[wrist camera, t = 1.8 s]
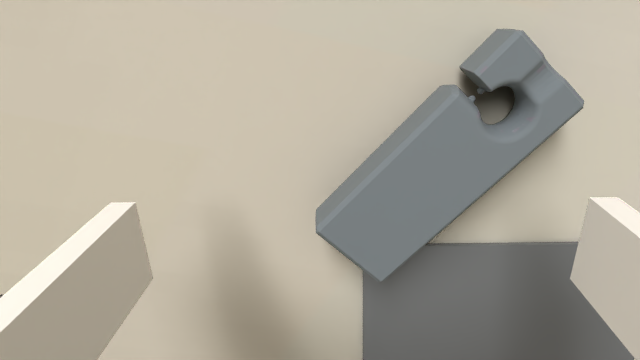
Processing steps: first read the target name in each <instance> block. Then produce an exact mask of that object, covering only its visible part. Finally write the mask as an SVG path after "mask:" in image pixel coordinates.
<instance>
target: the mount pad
mask: <svg viewBox="0 0 640 360" xmlns="http://www.w3.org/2000/svg"><path fill="white" fill-rule="evenodd" d="M578 243H579V242H534V243H456V244H426V245H425V246H424V247H423V248H421V249H420V250H419V251H418V252H417V253H416V254H414V255H413V256H412V257H411V258H410V259H409V260H408V261H406V262H405V263H404V264H403V265H402V266H401V267H400V268H398V269H397V270H396V271H395V272H394V273H393V274H391V275H390V276H389V277H388V278H387V279H386V280H385V281H382V282H377V281H376V280H375V279H374V278H372V277H371V276H370V275H369V274H367V273H366V272H365V271H363V360H634V357H633V356H632V354H631V353H630V352H629V351H628V349H627V348H626V347H625V346H624V345H623V343H622V342H621V341H620V340H619V338H618V337H617V336H616V335H615V333H614V332H613V331H612V330H611V329H610V327H609V326H608V325H607V324H606V322H605V321H604V320H603V319H602V318H601V316H600V315H599V314H598V313H597V311H596V310H595V309H594V308H593V306H592V305H591V304H590V303H589V302H588V300H587V299H586V298H585V297H584V295H583V294H582V293H581V292H580V290H579V289H578V288H577V287H576V286H575V284H574V283H573V282H572V281H571V279H570V276H571V272H572V268H573V264H574V260H575V255H576V251H577V247H578Z"/></svg>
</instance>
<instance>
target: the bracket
mask: <svg viewBox="0 0 640 360" xmlns="http://www.w3.org/2000/svg"><path fill="white" fill-rule="evenodd" d="M460 69H461V70H462V71H463V72H464V73H465V74H466V75H467V76H468V78H469V79H470V80H471V81H472V82H474V83H475V84H476V85H477V86H479V88H478V89H477V92H478V93H479V94H482V93H484V92H485V91H487V92H492V91H493V90H495V89H496V88H499V87H501V86H509V87H510V88H512V90H513V92H514V95H515V101H514V105H513V108H512V110H511V112H510V113H509V114H508V116H507V117H506V118H505V119H503V120H502V121H500V122H498V123H496V124H492V125H488V124H485V123H484V122H483V121H482V119H481V115H480V112H479V109H478V108H477V106H476V105H475V104H474V103H473V102H474V101H475V96H469V97H467V96H466V95H465V94H464V93H463V92H462V91H461V90H460V89H459V88H458V87H457V86H456V85H442V86H440V87H439V88H438V89H437V90H436V91H435V92H434V93H432V94H431V95H430V96H429V97H428V98H427V99H426V100H425V101H424V102H423V103H422V104H421V105H420V106H419V107H418V108H417V109H416V110H415V111H414V112H413V113H412V114H411V115H410V116H409V117H408V118H407V119H406V120H405V121H404V122H403V123H402V124H401V125H400V126H399V127H398V128H397V129H396V130H395V131H394V132H393V133H392V134H391V135H390V136H389V137H388V138H387V139H386V140H385V141H384V142H383V143H382V144H381V145H380V146H379V147H378V148H377V149H376V150H375V151H374V152H373V153H372V154H371V155H370V156H369V157H368V158H367V159H366V160H365V161H364V162H363V163H362V164H361V165H360V166H359V167H358V168H357V169H356V170H355V171H354V172H353V173H352V174H351V175H350V176H349V177H348V178H347V179H346V180H345V181H344V182H343V183H342V184H341V185H340V186H339V187H338V188H337V189H336V190H335V191H334V192H333V193H332V194H331V195H330V196H329V197H328V198H327V199H326V200H325V201H324V202H323V203H322V204H321V205H320V206H319V207H318V208H317V209H316V233H317V234H318V235H319V236H321V237H322V238H323V239H324V240H326V241H327V242H328V243H329V244H331V245H332V246H333V247H334V248H336V249H337V250H338V251H339V252H341V253H342V254H343V255H345V256H346V257H347V258H348V259H350V260H351V261H352V262H353V263H355V264H356V265H357V266H358V267H360V268H361V269H362V270H363V271H365V272H366V273H367V274H369V275H370V276H371V277H372V278H374V279H375V280H376V281H377V282H382V281H385V280H386V279H387V278H388V277H389V276H390V275H391V274H393V273H394V272H395V271H396V270H397V269H398V268H400V267H401V266H402V265H403V264H404V263H405V262H406V261H408V260H409V259H410V258H411V257H412V256H413V255H414V254H416V253H417V252H418V251H419V250H420V249H421V248H423V247H424V246H425V245H426V244H427V243H428V242H429V241H431V240H432V239H433V238H434V237H435V236H436V235H437V234H439V233H440V232H441V231H442V230H443V229H444V228H446V227H447V226H448V225H449V224H450V223H451V222H452V221H454V220H455V219H456V218H457V217H458V216H459V215H460V214H462V213H463V212H464V211H465V210H466V209H467V208H469V207H470V206H471V205H472V204H473V203H474V202H475V201H477V200H478V199H479V198H480V197H481V196H482V195H483V194H485V193H486V192H487V191H488V190H489V189H490V188H492V187H493V186H494V185H495V184H496V183H497V182H498V181H500V180H501V179H502V178H503V177H504V176H505V175H506V174H508V173H509V172H510V171H511V170H512V169H513V168H515V167H516V166H517V165H518V164H519V163H520V162H521V161H523V160H524V159H525V158H526V157H527V156H528V155H530V154H531V153H532V152H533V151H534V150H535V149H536V148H538V147H539V146H540V145H541V144H542V143H543V142H544V141H546V140H547V139H548V138H549V137H550V136H551V135H553V134H554V133H555V132H556V131H557V130H558V129H559V128H561V127H562V126H563V125H564V124H565V123H566V122H567V121H569V120H570V119H571V118H572V117H573V116H574V115H576V114H577V113H578V112H579V111H580V110H581V109H582V108H583V104H584V100H583V99H582V98H581V97H580V96H579V94H578V93H577V92H576V91H575V90H574V89H573V87H572V86H571V85H570V84H569V83H568V82H567V81H566V80H565V79H564V78H563V77H562V76H561V75H559V74H558V73H557V72H556V71H555V70H554V69H553V68H552V67H551V65H550V64H549V63H548V62H547V60H546V59H545V57H544V55H543V53H542V52H541V51H540V50H539V48H538V47H537V46H536V45H535V44H534V43H533V41H532V40H531V39H530V38H529V37H528V36H527V35H526V33H525V32H524V31H521V30H514V29H497V30H496V31H495V32H494V33H493V34H492V35H491V36H490V37H489V38H488V39H487V40H486V41H485V42H484V43H483V44H482V45H481V46H480V47H479V48H478V49H477V50H476V51H475V52H474V53H473V54H472V55H471V56H470V57H469V58H468V59H467V60H466V61H465V62H464V63H463V64H462V65H461V66H460Z"/></svg>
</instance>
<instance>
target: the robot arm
mask: <svg viewBox="0 0 640 360" xmlns="http://www.w3.org/2000/svg"><path fill="white" fill-rule="evenodd" d="M152 279H153V276H152V272H151V267H150V263H149V259H148V255H147V250H146V246H145V242H144V237H143V233H142V229H141V225H140V220H139V216H138V212H137V208H136V203H135V202H122V203H110V204H108V205H107V206H106V207H105V208H104V209H103V210H102V211H100V212H99V213H98V214H97V215H96V216H95V217H93V218H92V219H91V220H90V221H89V222H88V223H86V224H85V225H84V226H83V227H82V228H81V229H80V230H78V231H77V232H76V233H75V234H74V235H73V236H71V237H70V238H69V239H68V240H67V241H66V242H64V243H63V244H62V245H61V246H60V247H59V248H58V249H56V250H55V251H54V252H53V253H52V254H51V255H49V256H48V257H47V258H46V259H45V260H44V261H42V262H41V263H40V264H39V265H38V266H37V267H36V268H34V269H33V270H32V271H31V272H30V273H29V274H27V275H26V276H25V277H24V278H23V279H22V280H20V281H19V282H18V283H17V284H16V285H15V286H13V287H12V288H11V289H10V290H9V291H8V292H7V293H5V294H4V295H0V360H97V359H98V358H99V356H100V355H101V353H102V352H103V350H104V349H105V347H106V346H107V345H108V343H109V342H110V340H111V339H112V337H113V336H114V334H115V333H116V331H117V330H118V329H119V327H120V326H121V324H122V323H123V321H124V320H125V318H126V317H127V315H128V314H129V313H130V311H131V310H132V308H133V307H134V305H135V304H136V302H137V301H138V300H139V298H140V297H141V295H142V294H143V292H144V291H145V289H146V288H147V286H148V285H149V284H150V282H151V281H152ZM570 279H571V281H572V282H573V283H574V284H575V286H576V287H577V288H578V289H579V290H580V292H581V293H582V294H583V295H584V297H585V298H586V299H587V300H588V302H589V303H590V304H591V305H592V306H593V308H594V309H595V310H596V311H597V313H598V314H599V315H600V316H601V318H602V319H603V320H604V321H605V322H606V324H607V325H608V326H609V327H610V329H611V330H612V331H613V332H614V333H615V335H616V336H617V337H618V338H619V340H620V341H621V342H622V343H623V345H624V346H625V347H626V348H627V349H628V351H629V352H630V353H631V354H632V356H633V357H634V358H635V359H636V360H640V213H639V212H638V211H636V210H635V209H634V208H632V207H631V206H629V205H628V204H627V203H625V202H624V201H622V200H621V199H620V198H618V197H589V201H588V205H587V209H586V213H585V217H584V222H583V226H582V230H581V234H580V239H579V243H578V247H577V251H576V255H575V260H574V264H573V268H572V272H571V276H570Z"/></svg>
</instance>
